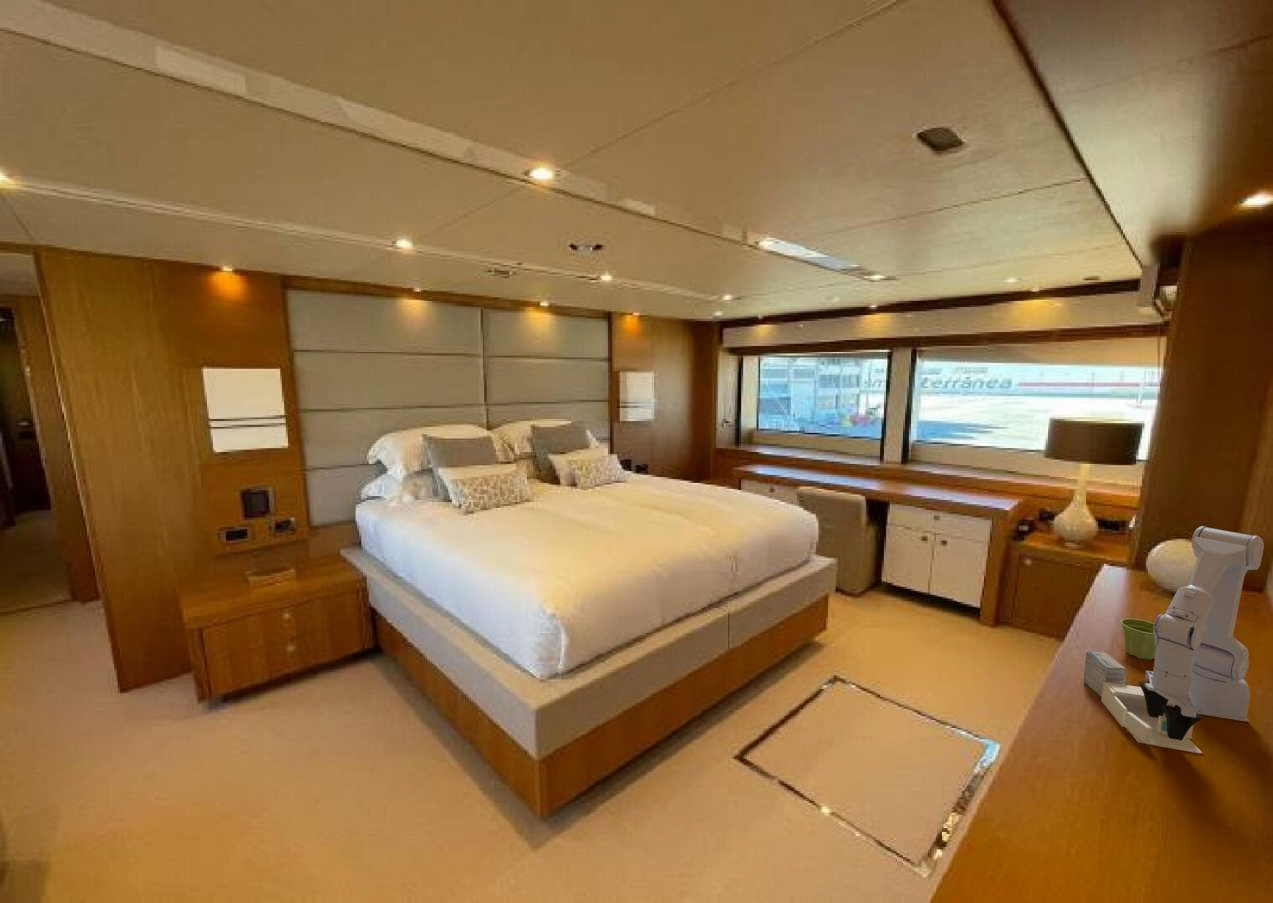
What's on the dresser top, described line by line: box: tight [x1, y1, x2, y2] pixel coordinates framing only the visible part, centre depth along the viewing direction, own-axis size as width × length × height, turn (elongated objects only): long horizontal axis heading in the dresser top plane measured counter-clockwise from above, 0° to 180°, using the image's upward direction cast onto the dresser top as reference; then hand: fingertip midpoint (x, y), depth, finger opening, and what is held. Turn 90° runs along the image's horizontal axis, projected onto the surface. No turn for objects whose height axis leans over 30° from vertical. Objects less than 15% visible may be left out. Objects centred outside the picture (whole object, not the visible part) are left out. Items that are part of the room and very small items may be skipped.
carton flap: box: [1157, 716, 1194, 740], centre depth 114 cm, size 5×1×4 cm, turn 69°
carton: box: [1100, 682, 1203, 755], centre depth 118 cm, size 12×16×5 cm
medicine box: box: [1083, 651, 1127, 698], centre depth 131 cm, size 8×4×9 cm, turn 168°
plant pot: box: [1120, 618, 1157, 661], centre depth 148 cm, size 9×9×9 cm
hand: (1164, 727), depth 115 cm, fingers open, 7 cm apart
